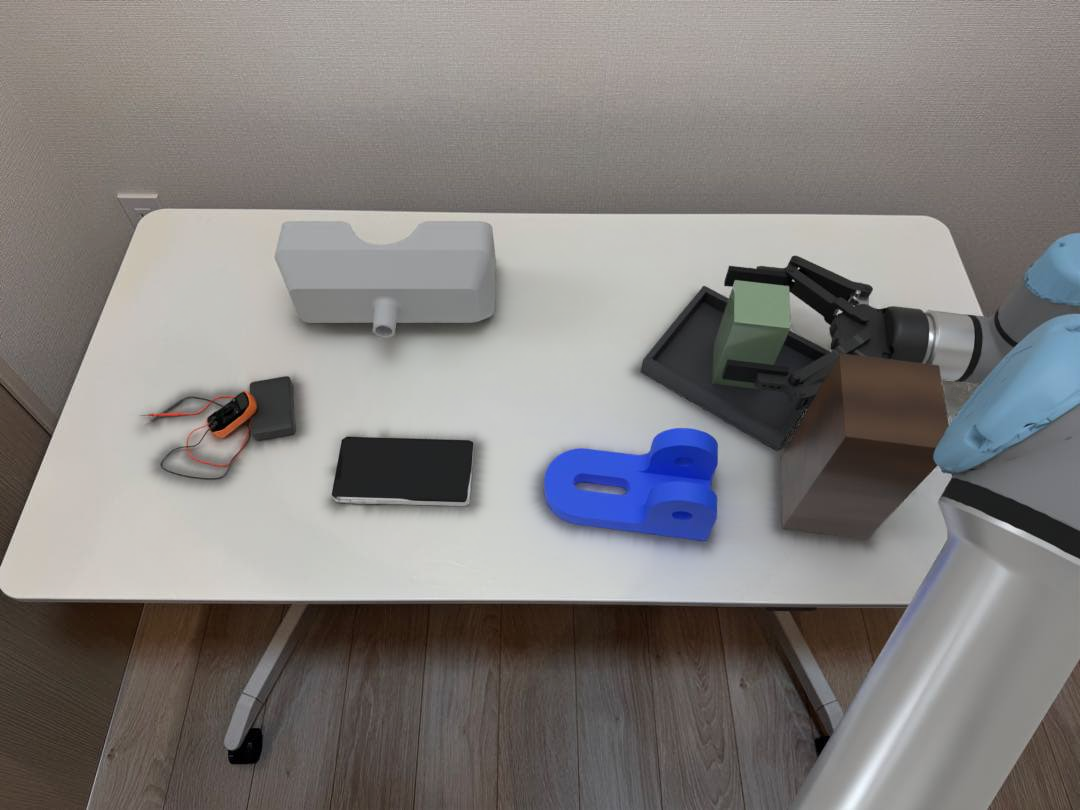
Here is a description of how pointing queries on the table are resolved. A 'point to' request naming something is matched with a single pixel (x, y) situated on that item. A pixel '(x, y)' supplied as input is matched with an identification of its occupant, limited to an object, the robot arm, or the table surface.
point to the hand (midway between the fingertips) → (725, 320)
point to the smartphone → (404, 471)
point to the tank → (389, 274)
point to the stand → (862, 445)
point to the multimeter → (249, 414)
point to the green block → (751, 327)
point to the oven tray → (689, 371)
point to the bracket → (641, 486)
